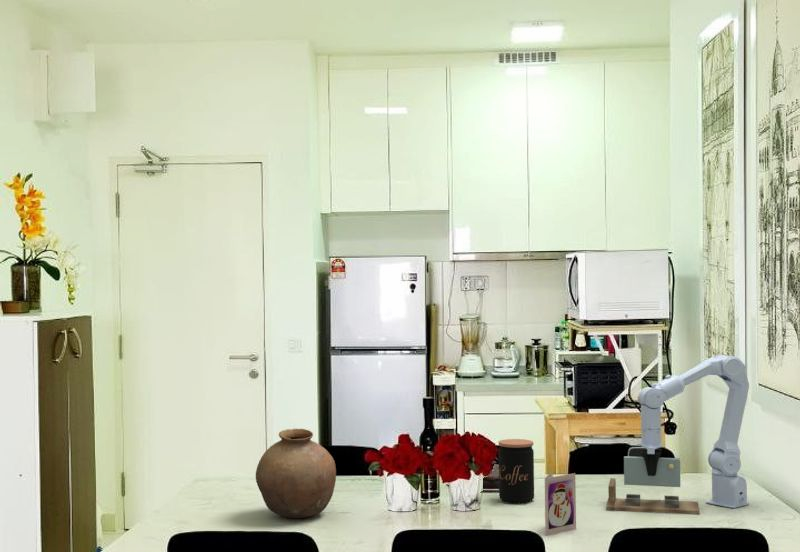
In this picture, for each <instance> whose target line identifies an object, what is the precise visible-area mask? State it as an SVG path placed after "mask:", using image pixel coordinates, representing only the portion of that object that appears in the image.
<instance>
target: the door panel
mask: <svg viewBox="0 0 800 552" xmlns="http://www.w3.org/2000/svg"><path fill="white" fill-rule="evenodd" d="M623 477H624V478H623V479H624V481H623V482H624V483H623V484H624V486H643V487H644V486H645V487H646V486H648V487H665V488H666V487H668V488H681V458H679V457H659V460H658V464H657V470H656V475H655V476H648V474H647V469H646V464H645V460H644V458H643V457H633V456H628V455H627V456H623Z"/></svg>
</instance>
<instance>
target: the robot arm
mask: <svg viewBox="0 0 800 552" xmlns="http://www.w3.org/2000/svg"><path fill="white" fill-rule="evenodd" d="M746 368H747V365H745V363H744V362H743V361H742V360H741V358H739V357H737V356H733V355H732V356H731V355H730V356H729V355H725V354H721V353H720V354H716V355H714V356H712V357H708V358H707V359H705V360H704V361H703V362H701V363H699V364H697V365H695V366H694V367H693V368H691V369H689V370H687V371H685V372H684V373H682V374H681V375H676V374H672V375H671V374H667V375H666V376H665V378H664V379H662V380H660V381H657V382H656V383H655V382H653V383H651V387H648V386H647V387H643V388H642V389H641V390H640V392H639V393H638V396H637V401H638V403H639V404H640V429H641V430H640V433H641V434H640V435H641V436H640V437H641V438H640V440H641V442H637V444H636V446H637V447H644V448H646V449H642V451H641V453H642V456H643V458H644V460H645V464H646V469H647V474H648V476H655V475H656V470H657V464H658V460H659V458H661V455H662V447H663V443H662V411H661V410H662V409H661V407H662V406H663V405H664V402H667V401H669V400H670V399H672V398H674V397H675V396H678V395H679V394H681V393H683V392H685V391H684V390H685V388H686V387H687V386H688V385H691V384H692V383H694V382H697V381H699V380H701V379H703V378H705V377H707V376H709V375H710V376H718V377H719V378H721V380H723V381H724V383H725V385H727V387H728V392H727V397H726V403H725V408H724V412H723V418H722V422H721V427H720V431H719V432H720V433H719V437H718V440H716V442H715V443H714V444H713V447H712V450H711V451H710V453H709V454H708V456H707V460H708V465H709V466H710V467H711V468H712V469H711V500H707V501H705V503H706V504H709V505H710V504H711V505H714V506H720V507H726V508H731V509H735V508H739V507H740V508H741V507H743V506H744V507H745V506H748V505H749V502H748V492H747V491H748V488H747V485H748V484H747V480H746V479H745V477H743V476H740V475H739V474H738V472H739V471H740V469H741V466H742V462H741V457H740V456H741V449H740V448H739V447H740V446H739V444H738V442H739V437H740V434H741V433H740V432H741V427H742V423H743V418H744V415H745V414H744V413H745V410H746V409H745V408H746V404H747V399H748V393H749V390H750V389H749V388H750V384H749V383H750V382H749V380H748V379H749V378H748V375H747V372H746Z"/></svg>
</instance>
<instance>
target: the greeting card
mask: <svg viewBox="0 0 800 552" xmlns="http://www.w3.org/2000/svg"><path fill="white" fill-rule="evenodd" d="M553 472H554V471H553V470H552V471H550V472H549V473H548V474H547V475H546V477H544V520H545V521H544V523H545V524H544V525H545V526H544V527H545V528H544V529H545V532H544V533H545V534H544V536H550V535H554V534H560V533H563V532H567V531H572V530H576V529H577V504H576V503H577V501H576V498H577V495H576V491H577V489H576V472H574V473H573V472H572V473H569V474H563V475H556V476H554V474H553Z"/></svg>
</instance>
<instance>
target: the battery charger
mask: <svg viewBox="0 0 800 552" xmlns="http://www.w3.org/2000/svg"><path fill="white" fill-rule="evenodd" d="M642 449H646V448H644V447H642V446H631V447H629V448H628V450H627V456H633V457H643V456H642V453H641V451H642Z"/></svg>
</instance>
